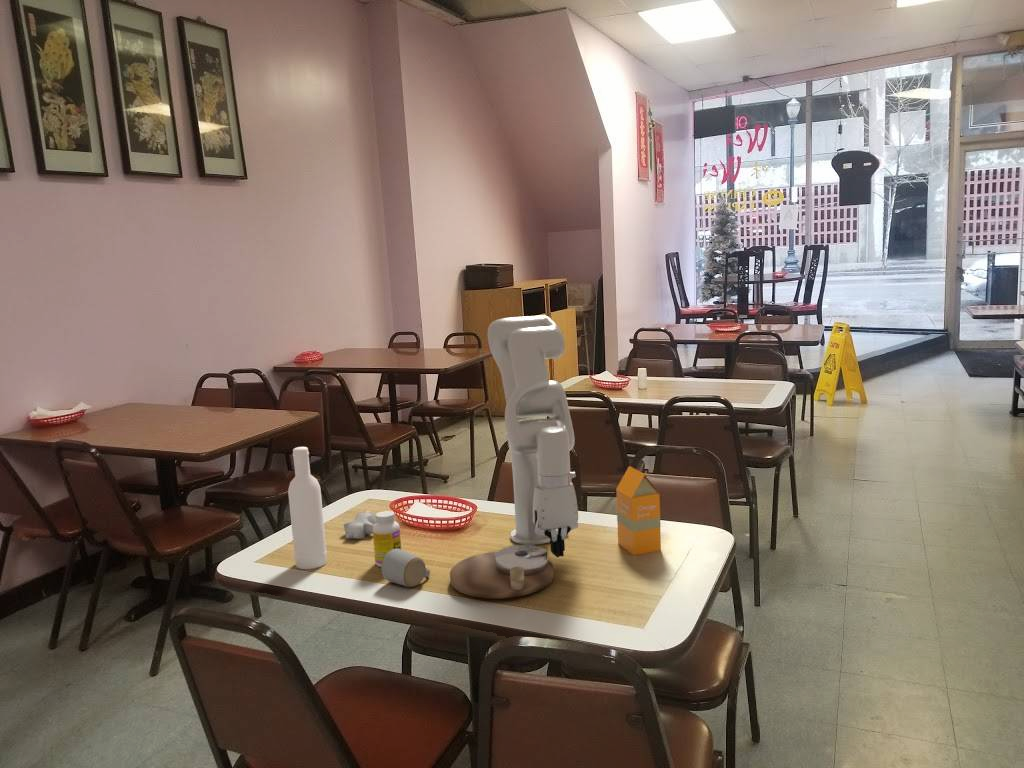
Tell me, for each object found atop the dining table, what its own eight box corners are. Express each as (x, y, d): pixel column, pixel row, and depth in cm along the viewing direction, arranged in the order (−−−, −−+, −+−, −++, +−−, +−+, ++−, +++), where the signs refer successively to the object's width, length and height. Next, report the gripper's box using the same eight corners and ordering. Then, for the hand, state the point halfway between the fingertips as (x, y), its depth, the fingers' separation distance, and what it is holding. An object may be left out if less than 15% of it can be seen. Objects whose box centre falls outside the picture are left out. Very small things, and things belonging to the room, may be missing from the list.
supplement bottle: (396, 568, 189) (392, 518, 187) (371, 568, 191) (367, 518, 189) (406, 558, 196) (402, 509, 194) (381, 557, 197) (377, 509, 195)
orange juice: (644, 538, 201) (642, 463, 198) (661, 550, 192) (659, 472, 189) (617, 543, 198) (614, 467, 195) (633, 555, 190) (630, 476, 187)
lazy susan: (531, 550, 194) (530, 529, 193) (571, 585, 172) (570, 562, 171) (438, 567, 186) (437, 545, 185) (467, 607, 164) (465, 582, 163)
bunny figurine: (335, 526, 211) (361, 503, 225) (337, 543, 212) (363, 519, 226) (366, 528, 208) (390, 505, 222) (368, 545, 209) (392, 521, 223)
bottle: (333, 562, 196) (323, 446, 191) (306, 572, 190) (294, 453, 185) (316, 555, 201) (305, 443, 196) (289, 565, 195) (277, 449, 191)
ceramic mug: (406, 593, 175) (404, 560, 174) (381, 585, 180) (379, 553, 179) (438, 577, 183) (437, 546, 182) (414, 570, 188) (412, 540, 187)
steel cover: (536, 553, 188) (535, 540, 187) (555, 570, 177) (555, 557, 176) (489, 562, 184) (488, 549, 183) (506, 580, 173) (505, 566, 172)
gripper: (576, 471, 186) (579, 544, 189) (518, 480, 181) (522, 555, 184) (590, 479, 179) (593, 554, 182) (530, 488, 174) (534, 566, 177)
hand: (557, 554), depth 183 cm, fingers closed
